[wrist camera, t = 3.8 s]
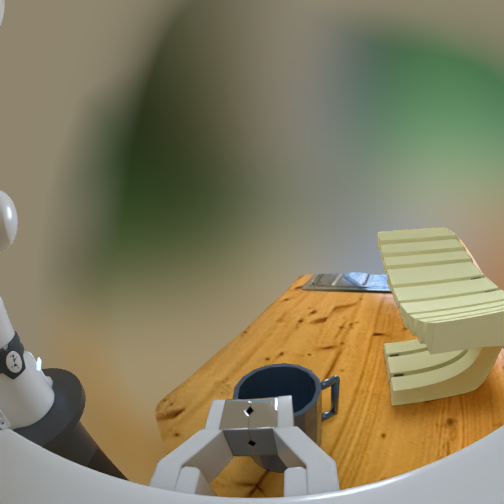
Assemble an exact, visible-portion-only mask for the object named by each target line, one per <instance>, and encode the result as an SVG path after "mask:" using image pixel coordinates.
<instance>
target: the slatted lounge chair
mask: <svg viewBox="0 0 504 504" xmlns="http://www.w3.org/2000/svg"><path fill="white" fill-rule="evenodd" d="M378 248H379V250H380V251H381V259H382V261H383V262H384V270H385V273H386V274H387V283H388V285H389V288H390V290H391V292H393V297H394V300H395V302H396V304H397V307H398V308H400V314H401V317H402V320H403V322H404V325H405V328H406V329H408V328H410V330H411V333H412V336H414V335H417V337H418V339H415V340H409V341H402V342H395V343H385V344H384V347H383V353H384V358H385V363H386V369H387V375H388V382H389V383H390V386H389V388H390V395H391V403H392V406H394V405H403V404H410V403H417V402H423V401H429V400H435V399H440V398H445V397H450V396H454V395H459V394H463V393H467V392H471V391H474V390H475V389H477V388H478V387H479V386H480V385H481V384H482V383H483V382H484V381H485V380H486V378H487V377H488V375H489V374H490V372H491V370H492V368H493V366H494V364H495V362H496V359H497V357H498V355H499V353H500V351H501V349H502V347H503V348H504V291H503V290H499V288H498V287H497V286H496V285H495V284H494V283H492V282H491V281H490V280H489V279H488V278H487V277H486V278H485V277H484V274H483V273H482V272H481V271H480V270H479V269H478V268H477V267H476V266H475V265H474V264H473V261H472V258H471V257H470V256H469V255H468V254H467V252H466V249H465V247H464V246H463V245H462V244H461V243H460V240H459V238H458V236H457V235H456V234H455V233H453V232H452V231H451V230H449V229H447V228H442V227H439V228H426V229H411V230H398V231H384V232H378Z"/></svg>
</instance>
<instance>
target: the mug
mask: <svg viewBox="0 0 504 504" xmlns="http://www.w3.org/2000/svg"><path fill="white" fill-rule="evenodd" d="M339 384H340V378H339V376H337V375H335V376H332V377H330V378H328V379H326V380H324V381H321V382H320V380H319V378H318V377H317V376H316V375H315V374H314V373H313V372H312V371H311V370H309V369H307V368H304V367H302V366H300V365H294V364H286V363H282V364H272V365H267V366H264V367H261V368H258V369H255V370H253V371H252V372H250V373H248V374H247V375H245V376H244V377H242V379H241V380H240V381H239V382H238V384H237V385H236V386H235V388H234V394H233V399H257V398H269V397H279V396H288V395H291V396H292V404H293V413H294V423H295V427H296V426H298V427H299V428H300V429H301V430H302V431H303V432H304V433H305V434H306V435H307V436H308V437H309V438H310V439H311V440H312V441H313V442H314V443H315V444H317V445H318V446H319V447H320V444H321V422H322V421H325V420H327V419H329V418H331V417H333V416H335V415H337V413H338V404H339ZM330 386H331V410H329V411H327V412H325V413H323V414H322V390H323V389H326V388H328V387H330ZM252 458H253V460H254V461H255V462H256V463H257V464H258V465H259V466H260V467H262V468H264V469H266V470H269V471H272V472H280V473H284V471H285V470H286V469H288V468H287V466H286V465H285V464H284V463H283V461H282V460H281V459H280V458H279V456H278V455H267V456H252Z"/></svg>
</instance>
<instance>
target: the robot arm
mask: <svg viewBox="0 0 504 504" xmlns="http://www.w3.org/2000/svg"><path fill="white" fill-rule="evenodd" d="M4 5H5V3H4V0H0V25H1V23H2V19H3V15H4V7H5V6H4ZM17 227H18V217H17V212H16V208H15V206H14V204H13V202H12V200H11V199H10V197H9V196H8V195H7V194H6V193H4V192H3V191H0V252H2V251H3V250H5V249H6V248H8V247H9V246H11V245H12V244H13V242H14V239H15V236H16V233H17ZM40 366H41V360H40V358H38V362H36V361H35V359H34V357H33V356H32V354H31V353H30V352H27V351H24V346H23V344H22V341H21V339H20V337H19V336H18V334H17V332H16V331H14V329H13V327H12V325H11V322H10V320H9V317H8V315H7V312H6V309H5V307H4V304H3V301H2V298H1V296H0V429H1V430H0V504H504V425H502V426H501V427H499V428H498V429H496V430H495V431H493V432H491V433H490V434H488V435H487V436H485V437H483V438H481V439H480V440H478V441H476V442H474V443H472V444H471V445H469V446H467V447H465V448H463V449H461V450H459V451H457V452H455V453H453V454H451V455H449V456H447V457H444V458H442V459H440V460H438V461H435V462H433V463H430V464H428V465H425V466H423V467H420V468H418V469H415V470H412V471H410V472H407V473H404V474H401V475H398V476H395V477H391V478H388V479H385V480H381V481H378V482H374V483H370V484H366V485H362V486H357V487H353V488H348V489H343V490H340V489H339V482H338V475H337V469H336V463H335V461H334V460H333V459H332V458H331V457H330V456H329V455H328V454H326V453H325V452H324V451H323V450H322V449H321V448H320V447H319V446H318V445H317V444H315V443H314V442H313V441H312V440H311V439H310V438H309V437H308V436H307V435H306V434H305V433H304V432H303V431H302V430H301V429H300V428H299V427H298V426H296V427H295V423H294V413H293V404H292V396H291V395H288V396H279V397H269V398H257V399H226V400H213V401H212V403H211V407H210V410H209V414H208V417H207V421H206V425H205V428H204V430H202V429H200V430H199V431H198V432H197V433H195V434H194V435H193V436H192V437H190V438H189V439H188V440H187V441H185V442H184V443H183V444H181V445H180V446H179V447H177V448H176V449H175V450H173V451H172V452H171V453H169V454H168V455H167V456H165V457H164V458H163V459H161V460H160V461H158V464H157V466H156V469H155V471H154V474H153V476H152V479H151V481H150V484H149V486H146V485H141V484H137V483H134V482H130V481H127V480H123V479H120V478H116V477H113V476H110V475H107V474H104V473H101V472H98V471H95V470H92V469H90V468H87V467H85V466H82V465H79V464H77V463H75V462H72V461H70V460H68V459H65V458H63V457H61V456H59V455H57V454H54V453H52V452H50V451H48V450H46V449H44V448H42V447H41V446H39V445H37V444H35V443H33V442H31V441H29V440H28V439H26V438H24V437H23V436H21V435H19V434H18V433H16V432H14V431H13V430H14V429H16V428H22V427H26V426H29V425H32V424H34V423H36V422H37V421H39V420H40V419H41V418H42V417H44V416H45V415H46V413H47V412H48V411H49V410H50V408H51V406H52V404H53V402H54V392H53V389H52V384H53V381H52V379H51V378H50V377H49V376H45V375H44V373H43V372H42V370H41V369H40ZM267 455H278V456H279V458H280V459H281V460H282V461H283V463H284V464H285V465H286V466H287V468H288V469H286V470H285V471H284V497H273V498H235V497H218V496H217V495H216V493H215V492H214V490H213V489H212V488H211V486H210V485H209V484H210V483H211V482H212V481H213V480H214V479H215V478H216V477H217V476H218V475H219V473H220V472H221V471H222V470H223V469H224V468H225V467H226V466H227V465H228V463H229V462H230V461H231V460H232V459H233V458H234V457H233V456H267Z"/></svg>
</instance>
